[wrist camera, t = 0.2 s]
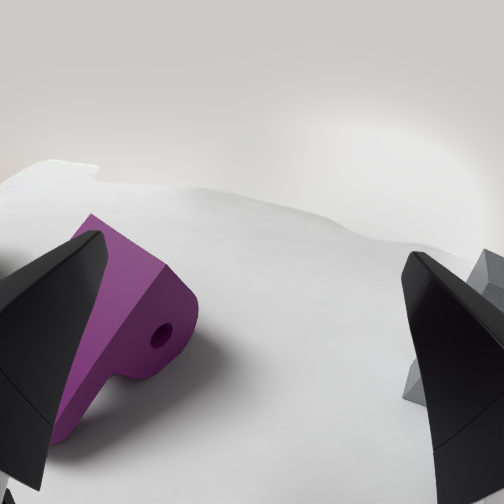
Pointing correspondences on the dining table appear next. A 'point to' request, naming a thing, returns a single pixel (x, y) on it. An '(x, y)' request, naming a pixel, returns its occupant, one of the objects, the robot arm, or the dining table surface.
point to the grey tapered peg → (485, 283)
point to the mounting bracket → (126, 325)
